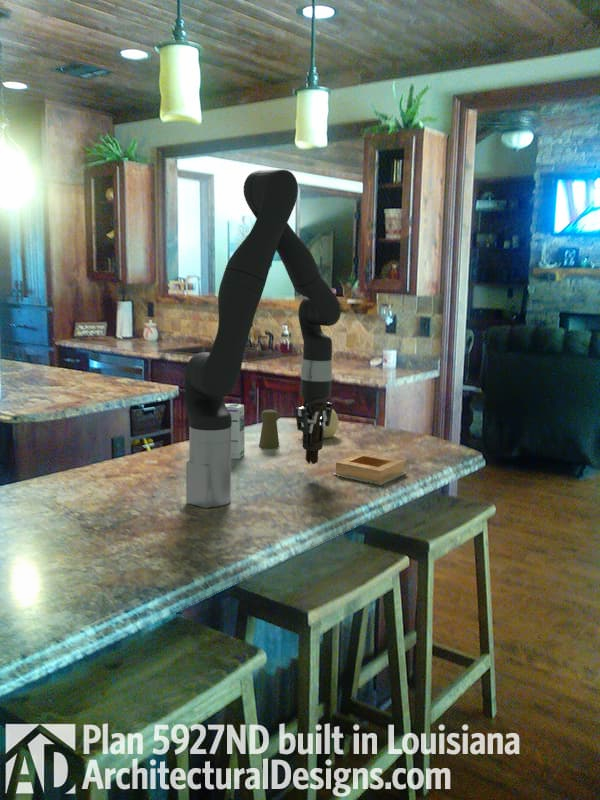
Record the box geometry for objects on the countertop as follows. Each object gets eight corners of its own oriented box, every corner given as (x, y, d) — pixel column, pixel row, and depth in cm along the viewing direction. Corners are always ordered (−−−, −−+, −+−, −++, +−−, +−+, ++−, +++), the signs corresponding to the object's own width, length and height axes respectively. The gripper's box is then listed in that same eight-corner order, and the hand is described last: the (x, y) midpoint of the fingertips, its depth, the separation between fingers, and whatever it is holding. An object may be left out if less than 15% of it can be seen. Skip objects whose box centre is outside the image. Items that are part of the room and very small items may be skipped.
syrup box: (239, 459, 198) (240, 407, 196) (218, 458, 199) (219, 406, 197) (244, 454, 204) (245, 404, 201) (224, 453, 205) (224, 402, 202)
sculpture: (320, 431, 237) (321, 398, 235) (345, 438, 228) (346, 404, 226) (293, 435, 230) (293, 401, 228) (317, 442, 221) (318, 408, 219)
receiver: (381, 485, 178) (381, 471, 177) (332, 475, 185) (333, 462, 185) (406, 473, 189) (407, 460, 189) (360, 464, 197) (360, 452, 196)
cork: (255, 445, 215) (256, 408, 214) (274, 443, 218) (275, 407, 216) (263, 449, 210) (264, 412, 208) (282, 448, 213) (283, 411, 211)
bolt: (323, 461, 183) (326, 402, 181) (322, 465, 178) (325, 406, 176) (300, 459, 183) (303, 401, 181) (299, 464, 178) (302, 404, 176)
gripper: (313, 382, 169) (309, 452, 172) (344, 377, 181) (340, 443, 184) (287, 378, 174) (283, 447, 176) (319, 374, 185) (315, 438, 188)
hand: (312, 445), depth 180 cm, fingers closed on bolt, 4 cm apart
